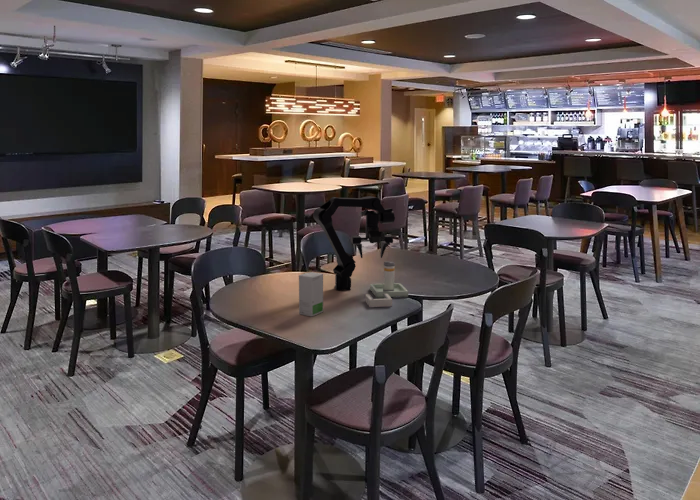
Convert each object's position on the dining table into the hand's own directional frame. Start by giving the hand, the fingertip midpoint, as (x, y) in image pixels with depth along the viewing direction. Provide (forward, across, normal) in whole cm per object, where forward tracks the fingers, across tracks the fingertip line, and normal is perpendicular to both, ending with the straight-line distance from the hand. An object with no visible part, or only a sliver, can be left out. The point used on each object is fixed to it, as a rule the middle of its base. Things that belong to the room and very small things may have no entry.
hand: (371, 257), depth 266 cm
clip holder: (+13, -3, -29) cm, 32 cm away
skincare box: (+13, -32, -38) cm, 51 cm away
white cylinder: (+12, +5, -14) cm, 19 cm away
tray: (+13, +5, -14) cm, 20 cm away
